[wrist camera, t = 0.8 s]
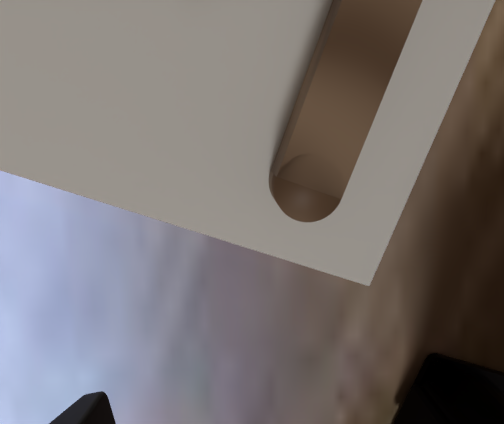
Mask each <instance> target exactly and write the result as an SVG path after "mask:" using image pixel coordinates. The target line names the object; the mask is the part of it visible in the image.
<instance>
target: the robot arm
mask: <svg viewBox="0 0 504 424" xmlns="http://www.w3.org/2000/svg"><path fill="white" fill-rule="evenodd" d="M436 361H438V362H437V363H436V364H435V365H433V364H434V362H436ZM49 424H116V423H115V420H114V416H113V413H112V410H111V406H110V403H109V399H108V397H107V395H106V393H104V392H96V393H91V394H86V395H84V396H82V397H81V398H80V399H79V400H77V401H76V402H75V403H74V404H72V405H71V406H70V407H69V408H68V409H66V410H65V411H64V412H63V413H61V414H60V415H59V416H58V417H57V418H55V419H54V420H53V421H52V422H50V423H49ZM394 424H504V373H502V372H498V371H495V370H492V369H488V368H485V367H481V366H478V365H475V364H471V363H468V362H464V361H461V360H458V359H454V358H451V357H447V356H444V355H441V354H437V353H433V354H430V355H429V356H428V357H427V358H426V360H425V362H424V364H423V366H422V368H421V370H420V372H419V374H418V376H417V378H416V380H415V382H414V384H413V386H412V388H411V390H410V392H409V394H408V396H407V398H406V400H405V402H404V404H403V406H402V408H401V410H400V413H399V415H398V417H397V419H396V421H395V423H394Z"/></svg>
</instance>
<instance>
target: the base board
mask: <svg viewBox="0 0 504 424" xmlns="http://www.w3.org/2000/svg"><path fill="white" fill-rule="evenodd" d="M332 1H333V0H0V170H1V171H4V172H7V173H11V174H14V175H17V176H20V177H23V178H26V179H30V180H33V181H36V182H39V183H42V184H46V185H49V186H52V187H55V188H58V189H61V190H65V191H68V192H71V193H74V194H77V195H81V196H84V197H87V198H90V199H93V200H96V201H100V202H103V203H106V204H109V205H112V206H116V207H119V208H122V209H125V210H128V211H131V212H135V213H138V214H141V215H144V216H147V217H151V218H154V219H157V220H160V221H163V222H166V223H170V224H173V225H176V226H179V227H182V228H186V229H189V230H192V231H195V232H198V233H201V234H205V235H208V236H211V237H214V238H217V239H221V240H224V241H227V242H230V243H233V244H236V245H240V246H243V247H246V248H249V249H252V250H256V251H259V252H262V253H265V254H268V255H272V256H275V257H278V258H281V259H284V260H287V261H291V262H294V263H297V264H300V265H303V266H307V267H310V268H313V269H316V270H319V271H322V272H326V273H329V274H332V275H335V276H338V277H342V278H345V279H348V280H351V281H354V282H357V283H361V284H364V285H367V286H370V283H371V281H372V279H373V276H374V274H375V272H376V270H377V267H378V265H379V263H380V261H381V258H382V256H383V254H384V252H385V249H386V247H387V245H388V242H389V240H390V238H391V236H392V233H393V231H394V229H395V227H396V224H397V222H398V220H399V218H400V215H401V213H402V211H403V208H404V206H405V204H406V202H407V199H408V197H409V195H410V193H411V190H412V188H413V186H414V184H415V181H416V179H417V177H418V174H419V172H420V170H421V168H422V165H423V163H424V161H425V159H426V156H427V154H428V152H429V149H430V147H431V145H432V143H433V140H434V138H435V136H436V134H437V131H438V129H439V127H440V125H441V122H442V120H443V118H444V115H445V113H446V111H447V109H448V106H449V104H450V102H451V100H452V97H453V95H454V93H455V91H456V88H457V86H458V84H459V81H460V79H461V77H462V75H463V72H464V70H465V68H466V66H467V63H468V61H469V59H470V57H471V54H472V52H473V50H474V47H475V45H476V43H477V41H478V38H479V36H480V34H481V32H482V29H483V27H484V25H485V22H486V20H487V18H488V16H489V13H490V11H491V9H492V7H493V4H494V2H495V0H422V3H421V5H420V8H419V10H418V13H417V15H416V18H415V20H414V23H413V25H412V27H411V30H410V32H409V35H408V37H407V40H406V42H405V45H404V47H403V50H402V52H401V54H400V57H399V59H398V62H397V64H396V67H395V69H394V72H393V74H392V77H391V79H390V81H389V84H388V86H387V89H386V91H385V94H384V96H383V99H382V101H381V104H380V106H379V108H378V111H377V113H376V116H375V118H374V121H373V123H372V126H371V128H370V131H369V133H368V135H367V138H366V140H365V143H364V145H363V148H362V150H361V153H360V155H359V158H358V160H357V162H356V165H355V167H354V170H353V172H352V175H351V177H350V180H349V182H348V185H347V187H346V189H345V192H344V194H343V197H342V199H341V201H340V203H339V205H338V207H337V208H336V209H335V210H334V211H333V212H332V213H331V214H330V215H329V216H327V217H326V218H324V219H322V220H319V221H315V222H300V221H296V220H294V219H292V218H290V217H288V216H287V215H286V214H285V213H284V212H283V211H282V210H281V209H280V207H279V206H278V204H277V203H276V201H275V200H274V198H273V196H272V195H271V192H270V189H269V174H270V170H271V168H272V165H273V162H274V159H275V157H276V154H277V151H278V148H279V146H280V143H281V140H282V138H283V135H284V132H285V129H286V127H287V124H288V121H289V118H290V116H291V113H292V110H293V107H294V105H295V102H296V99H297V97H298V94H299V91H300V88H301V86H302V83H303V80H304V77H305V75H306V72H307V69H308V66H309V64H310V61H311V58H312V56H313V53H314V50H315V47H316V45H317V42H318V39H319V36H320V34H321V31H322V28H323V25H324V23H325V20H326V17H327V15H328V12H329V9H330V6H331V4H332Z"/></svg>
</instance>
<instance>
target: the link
mask: <svg viewBox="0 0 504 424" xmlns="http://www.w3.org/2000/svg"><path fill="white" fill-rule="evenodd" d="M421 3H422V0H333V1H332V4H331V6H330V9H329V12H328V15H327V17H326V20H325V23H324V25H323V28H322V31H321V34H320V36H319V39H318V42H317V45H316V47H315V50H314V53H313V56H312V58H311V61H310V64H309V66H308V69H307V72H306V75H305V77H304V80H303V83H302V86H301V88H300V91H299V94H298V97H297V99H296V102H295V105H294V107H293V110H292V113H291V116H290V118H289V121H288V124H287V127H286V129H285V132H284V135H283V138H282V140H281V143H280V146H279V148H278V151H277V154H276V157H275V159H274V162H273V165H272V168H271V170H270V174H269V189H270V192H271V195H272V196H273V198H274V200H275V201H276V203H277V204H278V206H279V207H280V209H281V210H282V211H283V212H284V213H285V214H286V215H287V216H288V217H290V218H292V219H294V220H296V221H300V222H315V221H319V220H322V219H324V218H326V217H327V216H329V215H330V214H331V213H332V212H333V211H334V210H335V209H336V208H337V207H338V205H339V203H340V201H341V199H342V197H343V194H344V192H345V189H346V187H347V185H348V182H349V180H350V177H351V175H352V172H353V170H354V167H355V165H356V162H357V160H358V158H359V155H360V153H361V150H362V148H363V145H364V143H365V140H366V138H367V135H368V133H369V131H370V128H371V126H372V123H373V121H374V118H375V116H376V113H377V111H378V108H379V106H380V104H381V101H382V99H383V96H384V94H385V91H386V89H387V86H388V84H389V81H390V79H391V77H392V74H393V72H394V69H395V67H396V64H397V62H398V59H399V57H400V54H401V52H402V50H403V47H404V45H405V42H406V40H407V37H408V35H409V32H410V30H411V27H412V25H413V23H414V20H415V18H416V15H417V13H418V10H419V8H420V5H421Z"/></svg>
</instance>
